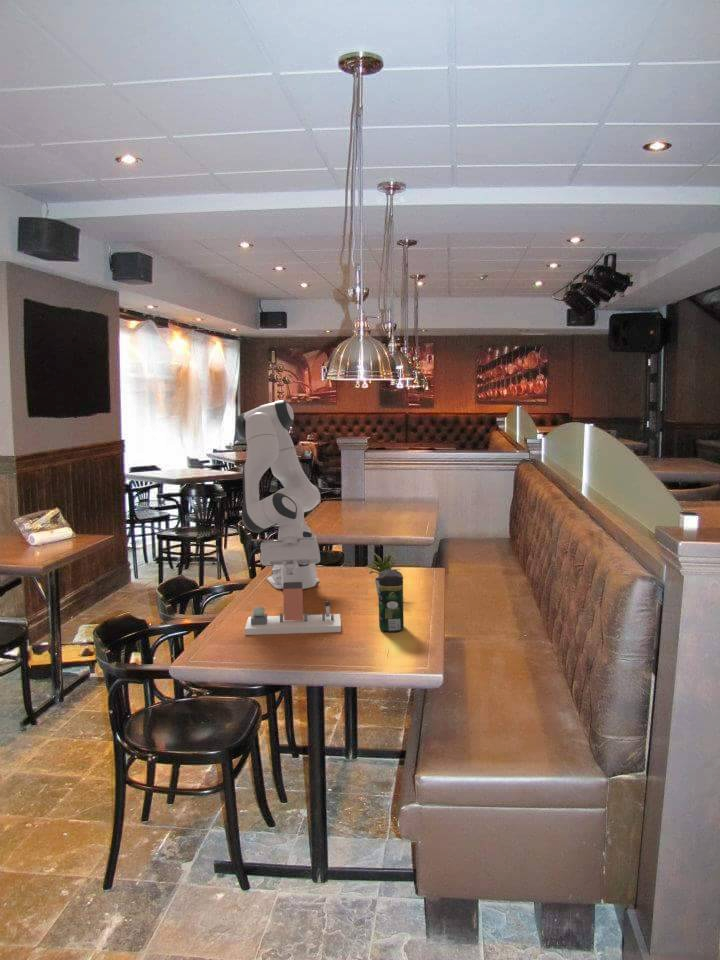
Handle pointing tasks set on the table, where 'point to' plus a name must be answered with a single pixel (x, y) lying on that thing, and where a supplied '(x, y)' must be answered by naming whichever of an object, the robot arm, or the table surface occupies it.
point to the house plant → (382, 566)
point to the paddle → (293, 600)
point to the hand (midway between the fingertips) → (289, 574)
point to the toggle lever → (327, 608)
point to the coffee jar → (390, 600)
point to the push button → (258, 611)
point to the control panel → (292, 624)
